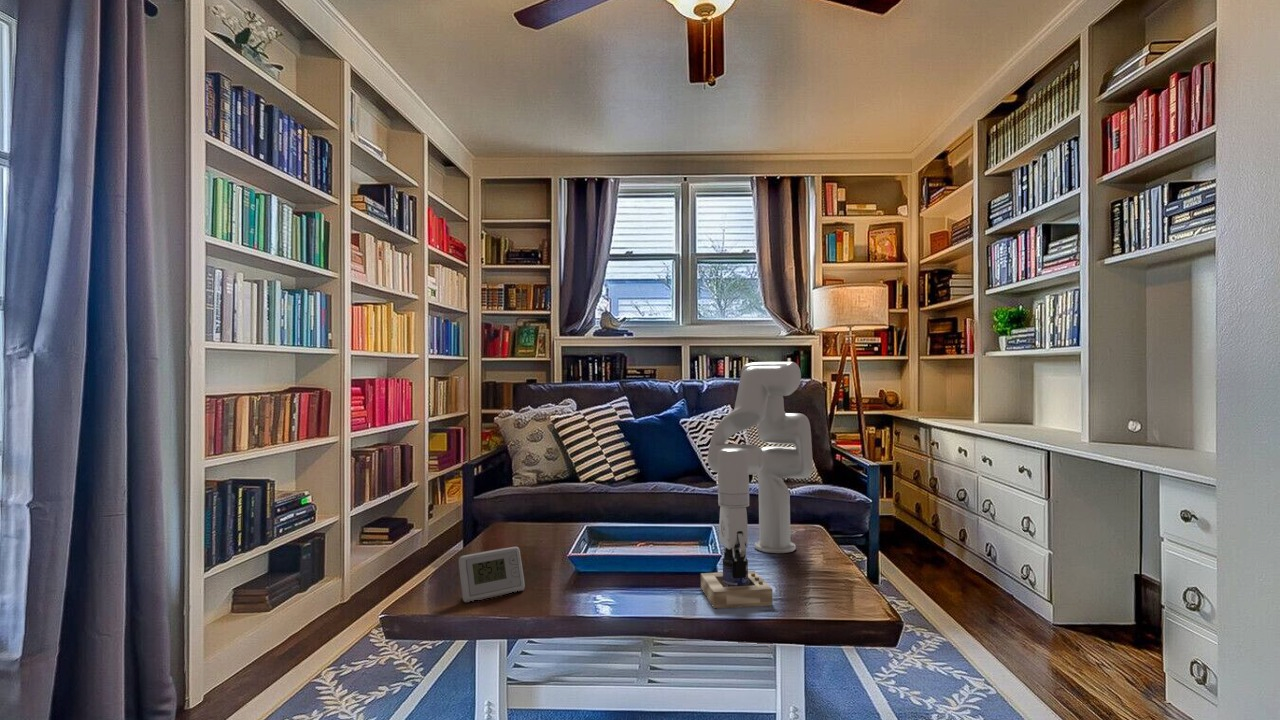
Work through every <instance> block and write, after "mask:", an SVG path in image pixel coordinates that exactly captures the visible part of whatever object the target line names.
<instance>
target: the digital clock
mask: <svg viewBox="0 0 1280 720" xmlns="http://www.w3.org/2000/svg"><path fill="white" fill-rule="evenodd" d="M523 569H524V568H523V562H522V556H521V549H520V548H519V547H518V546H511V547H502V548H496V549H490V550H485V551H484V550H483V551H478V552H474V553H470V554H465V555H461V556H460V557H459V558H458V570H459V580H460V587H461V588H460V589H461V597H462V601H463V602H464V603H471V602H470V601H472V602H475V601H474V600H479V599H484V598H489V597H494V596H498V595H503V594H508V593H512V592H514V593H517V591H518V592H521V591H524V590H525V587H526V585H525V584H526V583H525V576H524V570H523ZM512 594H513V593H512Z"/></svg>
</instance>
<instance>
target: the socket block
mask: <svg viewBox="0 0 1280 720" xmlns="http://www.w3.org/2000/svg"><path fill="white" fill-rule="evenodd" d="M701 589H702V590H703V591H702V590H701ZM700 590H701V591H702V592H704V593H705V594H704V593H703V594H704V596H705V595H706V596H707V597H706V596H705V597H706V599H707V598H708V599H709V600H708V599H707V600H708V602H709V601H710V602H711V603H710V602H709V603H710V605H711V604H712V605H713V606H712V605H711V606H712V608H713V607H714V608H717V609H729V607H730V609H732V608H733V607H734V608H748V607H765V606H766V607H767V606H774V605H773V600H774V599H773V588H772V587H771V586H770V585H769V584H768V582H766V581H765V580H764V579H763V578H762V577H761V575H759V574H758V573H757V572H756V571H755V570H748V586H734V587H723V571H721V572H705V573H703V572H702V573H700ZM714 608H713V609H714ZM734 608H733V609H734Z"/></svg>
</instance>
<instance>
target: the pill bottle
mask: <svg viewBox="0 0 1280 720" xmlns="http://www.w3.org/2000/svg"><path fill="white" fill-rule="evenodd" d="M735 547H739V545H735ZM724 552H726V555H727V556H725V557H723V558H722V572H723V587H734V586H748V571H749V569H748V568H749V560H748V558H747V557H746V577H745V578H733V577H732V561H734V560H733V552H732V548H731V549H730V550H729V549H728V548H725V551H724ZM737 552H739V551H736V555H737Z"/></svg>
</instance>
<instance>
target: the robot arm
mask: <svg viewBox="0 0 1280 720" xmlns="http://www.w3.org/2000/svg"><path fill="white" fill-rule="evenodd" d="M740 372H741V373H740V377H739V382H738V388H737V391H736V392H737V393H736V399H735V403H734V409H733V410H732V411H730V412H729V413H728V414H727V415H725V416H724V417H723V418H722V419H721V420H720V421H719V422H718V423H717V424H716V426H715V428H714V429H713V430H712V434H711V437H710V442H709V446H708V451H707V464H708V466H709V468H710V470H711V471H713V472H715V473H717V493H718V494H717V496H718V497H717V498H718V499H717V502H718V504H717V505H718V507H720V508H719V523H718V524H719V526H718V529H719V530H718V539H719V541H720V542H721V544H722V545H723V549H724V553H723V555H724V557H725V556H727V555H726V552H725V548H728V549H729V550H730V549H731V548H732V552H733V560H734V561H732V577H733V578H745V577H746V558H747V554H746V553H747V547H748V545H749V530H748V529H749V527H748V513H747V507H749V506H750V476H751V475H757V483H758V484H757V486H758V527H759V529H758V530H759V533H758V534H759V535H758V537H759V539H758V541H755V543H754V548H755V549H756V550H757V551H760V552H763V553H769V554H787V553H792V552H794V551H796V543H794V542H792V541H791V501H790V499H791V498H790V497H791V496H790V489H789V487H788V486H787V484H786V482H784V480H783V479H808V478H809V477H811V475H812V472H813V468H814V466H813V465H814V462H813V444H812V431H811V423H810V420H809V418H808V416H806V415H805V414H803V413H800V412H786V411H785V404H784V400H785V399H784V397H787V396H791V395H792V394H793V393H794V392H795V391H796V390H797V389H798V388H799V386H800V384H801V380H802V373H801V369H800V366H799V365H798V364H797V363H796V362H794V361H755V362H749V363H746V364H744V365H743V366H742V367H741V370H740ZM754 426H756V427H757V434H758V438H759V440H760V441H761V442H763V443H765V444H779V445H793V447H792V446H772V445H771V446H769V445H768V446H763V447H761V448H760V447H759V446H757V445H754V444H742V443H741V444H740V443H726V442H727V441H728V439H730V438H731V437H732V436H734V435H735V434H737V433H740V432H742V431H744V430H748V429H751V428H752V427H754ZM749 475H750V476H749ZM735 545H739V547H735ZM736 551H739V552H737V555H736ZM724 557H723V558H724Z"/></svg>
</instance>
